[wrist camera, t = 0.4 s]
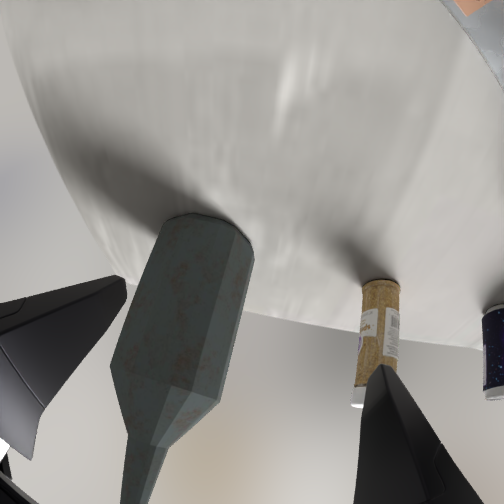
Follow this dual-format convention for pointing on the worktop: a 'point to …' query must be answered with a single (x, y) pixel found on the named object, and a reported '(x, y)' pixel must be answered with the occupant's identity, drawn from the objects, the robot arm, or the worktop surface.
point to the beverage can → (493, 353)
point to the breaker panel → (483, 29)
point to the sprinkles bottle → (376, 333)
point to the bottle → (178, 340)
